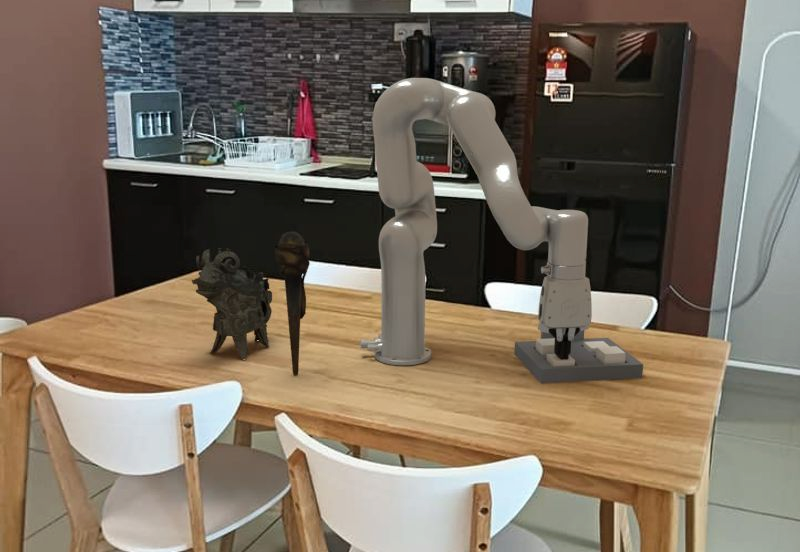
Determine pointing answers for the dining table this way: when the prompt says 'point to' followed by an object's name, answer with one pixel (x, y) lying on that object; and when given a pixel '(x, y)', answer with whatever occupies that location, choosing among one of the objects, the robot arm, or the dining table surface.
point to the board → (577, 364)
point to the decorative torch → (294, 285)
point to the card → (577, 337)
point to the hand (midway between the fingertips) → (562, 357)
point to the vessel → (234, 299)
